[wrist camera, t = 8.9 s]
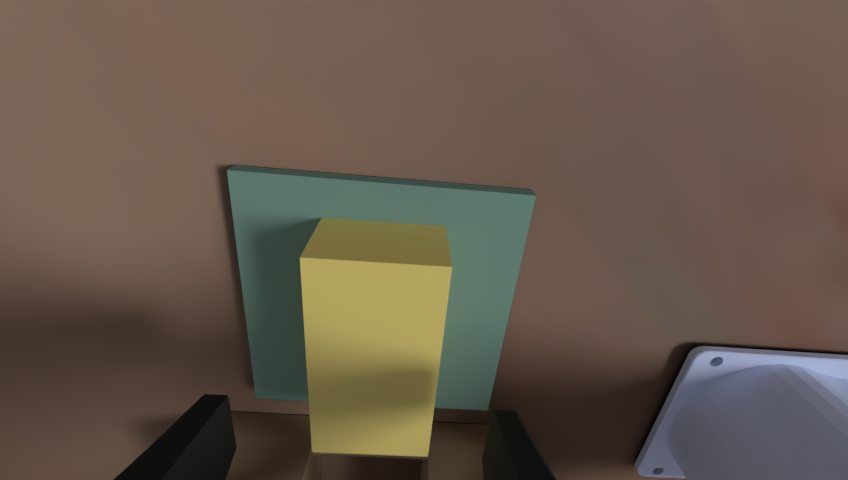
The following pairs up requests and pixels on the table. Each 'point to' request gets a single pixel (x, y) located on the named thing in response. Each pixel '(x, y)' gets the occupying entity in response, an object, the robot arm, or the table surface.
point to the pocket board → (301, 468)
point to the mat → (384, 202)
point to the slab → (374, 334)
